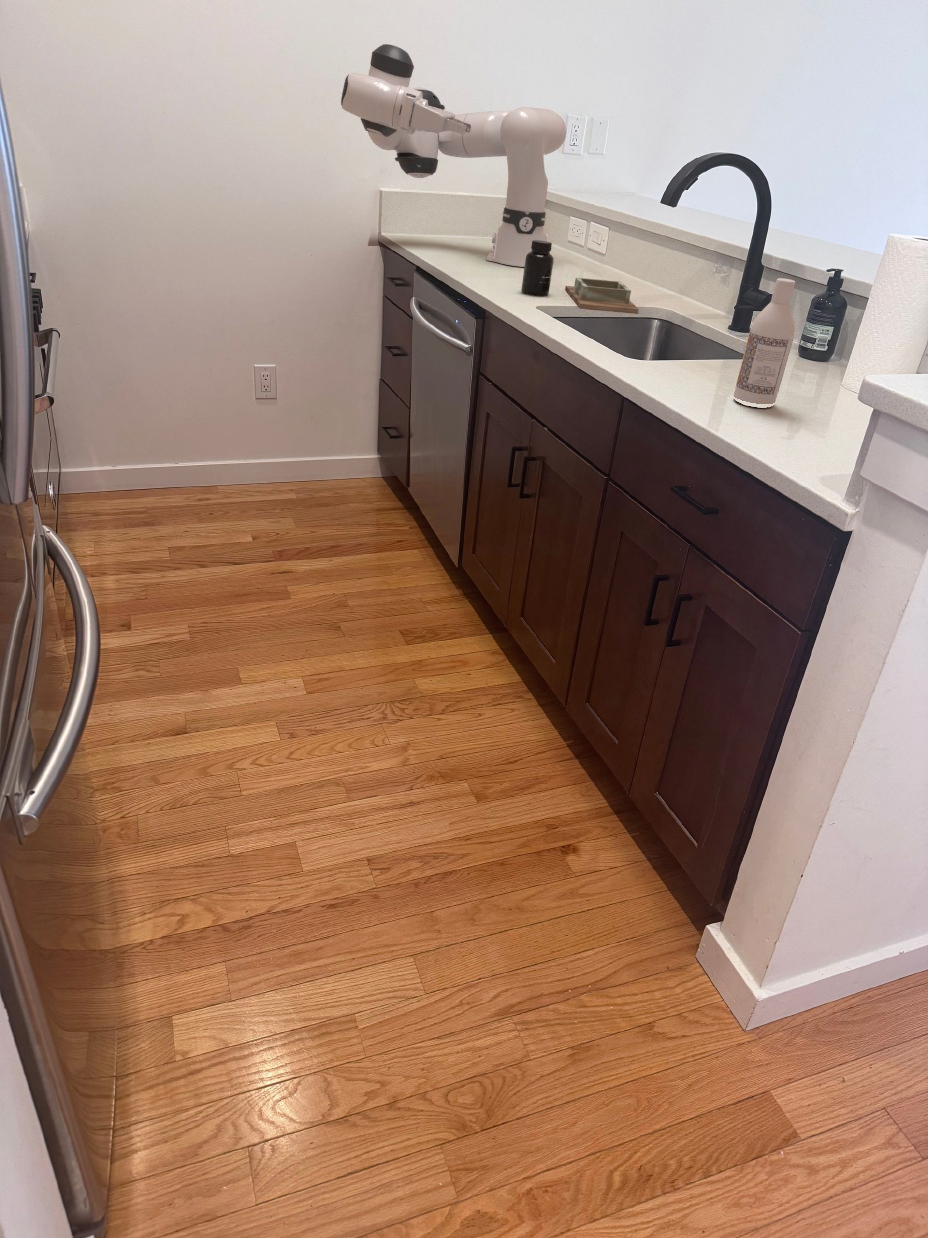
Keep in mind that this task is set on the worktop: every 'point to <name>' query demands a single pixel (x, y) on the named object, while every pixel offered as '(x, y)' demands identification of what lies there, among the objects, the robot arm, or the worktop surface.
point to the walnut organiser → (601, 295)
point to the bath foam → (767, 348)
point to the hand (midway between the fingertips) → (468, 129)
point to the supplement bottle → (538, 269)
